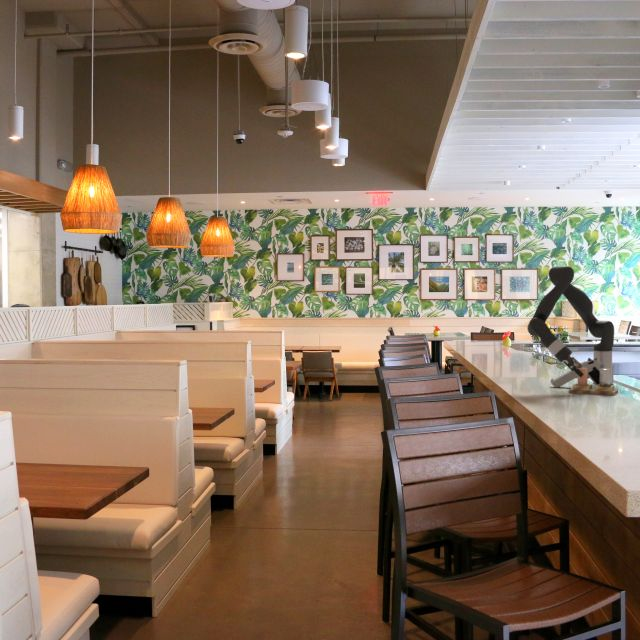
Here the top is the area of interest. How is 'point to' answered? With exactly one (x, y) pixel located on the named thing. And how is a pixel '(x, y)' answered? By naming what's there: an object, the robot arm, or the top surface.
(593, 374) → the handgun
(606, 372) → the pin
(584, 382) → the pin
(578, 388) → the wooden compartment tray
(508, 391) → the top surface
